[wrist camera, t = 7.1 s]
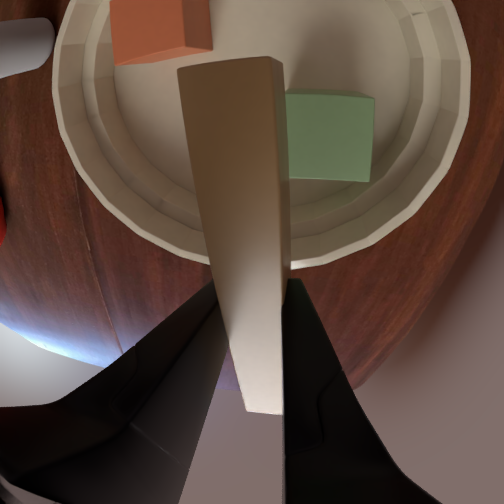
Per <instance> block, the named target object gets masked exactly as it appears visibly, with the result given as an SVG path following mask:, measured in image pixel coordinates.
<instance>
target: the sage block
mask: <svg viewBox="0 0 504 504" xmlns="http://www.w3.org/2000/svg"><path fill="white" fill-rule="evenodd" d="M285 99H286V115H287V134H288V155H289V178H303V179H326V180H344V181H359V182H369V181H370V173H371V162H372V149H373V134H374V113H375V99H374V98H373V97H371V96H368V95H365V94H363V93H360V92H356V91H344V90H328V89H287V90H286V91H285Z"/></svg>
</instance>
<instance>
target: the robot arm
mask: <svg viewBox="0 0 504 504" xmlns="http://www.w3.org/2000/svg"><path fill="white" fill-rule="evenodd" d="M228 344H229V342H228V338H227V334H226V330H225V326H224V321H223V317H222V313H221V309H220V304H219V301H218V298H217V294H216V289H215V285H214V280H213V279H212V280H211V281H210V282H209V283H207V284H206V285H205V286H204V287H203V288H202V289H200V290H199V291H198V292H197V293H196V294H194V295H193V296H192V297H191V298H190V299H188V300H187V301H186V302H185V303H184V304H182V305H181V306H180V307H179V308H178V309H177V310H175V311H174V312H173V313H172V314H171V315H169V316H168V317H167V318H166V319H165V320H163V321H162V322H161V323H160V324H159V325H158V326H156V327H155V328H154V329H153V330H152V331H150V332H149V333H148V334H147V335H146V336H144V337H143V338H142V339H141V340H140V341H139V342H137V343H136V344H135V346H132V347H131V348H130V349H129V350H128V351H127V352H125V353H124V354H123V355H122V356H120V357H119V358H118V359H117V360H116V361H114V362H113V363H112V364H111V365H109V366H108V367H106V368H105V369H104V370H102V371H101V372H100V373H98V374H97V375H95V376H94V377H92V378H91V379H89V380H88V381H87V382H85V383H84V384H82V385H81V386H79V387H78V388H76V389H75V390H74V391H72V392H70V393H69V394H68V395H66V396H64V397H63V398H61V399H59V400H57V401H55V402H52V403H49V404H43V405H32V406H16V407H0V504H178V503H179V500H180V497H181V494H182V491H183V487H184V485H185V481H186V478H187V475H188V472H189V468H190V465H191V462H192V459H193V456H194V453H195V450H196V447H197V444H198V440H199V437H200V434H201V431H202V428H203V425H204V422H205V418H206V416H207V412H208V409H209V406H210V403H211V400H212V397H213V394H214V390H215V387H216V384H217V381H218V378H219V375H220V371H221V368H222V365H223V362H224V359H225V356H226V352H227V349H228ZM281 356H282V418H283V472H282V475H283V476H282V477H283V479H282V484H283V485H282V504H442V503H441V502H439V501H438V500H436V499H435V498H434V497H433V496H431V495H430V494H428V493H427V492H426V491H425V490H423V489H422V488H421V487H420V486H418V485H417V484H416V483H414V482H413V481H412V480H411V479H409V478H408V477H407V476H406V475H405V474H404V473H403V472H402V471H401V469H400V468H399V467H398V466H397V464H396V463H395V462H394V460H393V459H392V457H391V456H390V454H389V452H388V451H387V449H386V447H385V446H384V444H383V443H382V441H381V439H380V438H379V436H378V434H377V433H376V431H375V429H374V428H373V426H372V425H371V423H370V421H369V420H368V418H367V416H366V415H365V413H364V411H363V409H362V407H361V406H360V404H359V402H358V401H357V398H356V396H355V394H354V392H353V390H352V388H351V386H350V384H349V382H348V379H347V377H346V375H345V373H344V371H343V370H342V366H341V364H340V362H339V360H338V357H337V355H336V353H335V351H334V348H333V346H332V344H331V342H330V340H329V338H328V335H327V333H326V331H325V329H324V327H323V324H322V322H321V320H320V318H319V316H318V314H317V312H316V309H315V307H314V305H313V303H312V301H311V299H310V297H309V295H308V293H307V290H306V288H305V286H304V284H303V282H302V280H301V279H299V278H288V281H287V288H286V294H285V300H284V304H283V305H282V306H281Z"/></svg>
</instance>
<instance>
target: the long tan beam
mask: <svg viewBox="0 0 504 504" xmlns="http://www.w3.org/2000/svg"><path fill="white" fill-rule="evenodd" d="M177 78H178V86H179V93H180V100H181V107H182V114H183V120H184V127H185V133H186V139H187V146H188V152H189V158H190V163H191V169H192V175H193V181H194V186H195V192H196V197H197V202H198V208H199V213H200V218H201V223H202V228H203V233H204V238H205V243H206V248H207V253H208V257H209V262H210V267H211V271H212V276H213V280H214V285H215V289H216V294H217V298H218V301H219V304H220V309H221V313H222V317H223V321H224V326H225V330H226V334H227V338H228V342H229V348H230V352H231V356H232V360H233V364H234V368H235V372H236V376H237V379H238V383H239V387H240V391H241V394H242V398H243V402H244V405H245V409H246V411H250V412H259V413H267V414H278V415H282V356H281V306H282V305H283V304H284V300H285V294H286V288H287V281H288V278H291V221H290V182H289V155H288V134H287V115H286V99H285V84H284V70H283V63H282V62H280V61H278V60H276V59H274V58H272V57H270V56H259V57H247V58H237V59H229V60H221V61H214V62H208V63H202V64H196V65H190V66H185V67H180V68H178V69H177Z"/></svg>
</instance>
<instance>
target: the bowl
mask: <svg viewBox="0 0 504 504" xmlns="http://www.w3.org/2000/svg"><path fill="white" fill-rule="evenodd" d="M110 1H111V0H70V2H69V5H68V7H67V10H66V13H65V15H64V18H63V21H62V24H61V27H60V30H59V33H58V36H57V40H56V43H55V45H56V46H55V49H54V59H53V74H52V95H53V101H54V107H55V112H56V117H57V122H58V127H59V132H60V134H61V137H62V139H63V141H64V144H65V146H66V148H67V150H68V153H69V155H70V157H71V159H72V161H73V163H74V166H75V168H76V170H77V171H78V173H79V174H80V176H81V177H82V179H83V180H84V181H85V182H86V184H87V185H88V186H89V188H90V189H91V190H92V192H93V193H94V194H95V195H96V197H97V198H98V199H99V201H100V202H101V203H102V204H103V206H105V208H107V209H108V210H109V211H110V212H111V213H112V214H114V215H115V216H116V217H117V218H118V219H120V220H121V221H122V222H123V223H124V224H126V225H127V226H128V227H129V228H130V229H132V230H133V231H134V232H135V233H137V234H139V235H140V236H141V237H143V238H145V239H147V240H149V241H151V242H153V243H155V244H157V245H158V246H160V247H162V248H164V249H166V250H168V251H170V252H172V253H174V254H176V255H178V256H180V257H184V258H187V259H191V260H194V261H198V262H201V263H205V264H208V265H210V262H209V257H208V253H207V248H206V243H205V238H204V233H203V228H202V223H201V218H200V213H199V208H198V202H197V197H196V192H195V186H194V181H193V175H192V169H191V163H190V158H189V152H188V146H187V139H186V133H185V127H184V120H183V114H182V107H181V100H180V93H179V86H178V78H177V69H178V68H180V67H185V66H190V65H196V64H202V63H208V62H214V61H221V60H229V59H237V58H247V57H259V56H270V57H272V58H274V59H276V60H278V61H280V62H282V63H283V70H284V84H285V91H286V90H287V89H328V90H344V91H356V92H360V93H363V94H365V95H368V96H371V97H373V98H374V99H375V113H374V134H373V149H372V162H371V173H370V181H369V182H359V181H344V180H326V179H303V178H289V182H290V221H291V269H298V268H304V267H310V266H317V265H323V264H326V263H329V262H331V261H334V260H336V259H339V258H341V257H344V256H346V255H349V254H351V253H353V252H356V251H358V250H361V249H363V248H366V247H368V246H371V245H373V244H374V243H376V242H377V241H379V240H380V239H381V238H383V237H384V236H385V235H387V234H388V233H390V232H391V231H392V230H394V229H395V228H396V227H398V226H399V225H400V224H402V223H403V222H405V221H406V220H407V219H409V218H410V217H411V216H412V215H414V214H415V213H416V212H417V210H418V209H419V208H420V207H421V205H422V204H423V203H424V202H425V201H426V199H427V198H428V197H429V195H430V194H431V193H432V192H433V190H434V189H435V188H436V186H437V185H438V184H439V183H440V181H441V180H442V179H443V177H444V176H445V175H446V173H447V172H448V170H449V168H450V166H451V164H452V161H453V159H454V156H455V154H456V151H457V149H458V146H459V143H460V141H461V138H462V135H463V132H464V130H465V127H466V124H467V121H468V119H467V118H468V116H469V103H470V82H471V63H470V61H471V60H470V56H469V52H468V48H467V44H466V41H465V37H464V34H463V30H462V27H461V24H460V21H459V18H458V15H457V12H456V9H455V6H454V5H453V3H452V1H451V0H209V11H210V23H211V35H212V46H213V51H211V52H204V53H198V54H192V55H187V56H182V57H177V58H172V59H168V60H163V61H159V62H155V63H145V64H132V65H121V66H115V65H114V57H113V48H112V37H111V24H110V5H109V2H110Z"/></svg>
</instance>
